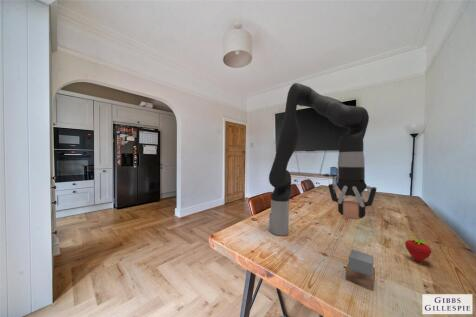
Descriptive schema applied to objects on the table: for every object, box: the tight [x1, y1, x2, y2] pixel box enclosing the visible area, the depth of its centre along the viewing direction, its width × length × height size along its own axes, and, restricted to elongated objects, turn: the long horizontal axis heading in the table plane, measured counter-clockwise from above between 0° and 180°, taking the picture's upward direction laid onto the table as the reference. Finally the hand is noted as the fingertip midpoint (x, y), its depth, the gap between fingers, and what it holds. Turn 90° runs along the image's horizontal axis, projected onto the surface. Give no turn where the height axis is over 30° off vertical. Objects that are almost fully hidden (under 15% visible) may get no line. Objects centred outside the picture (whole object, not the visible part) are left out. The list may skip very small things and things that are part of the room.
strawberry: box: [404, 237, 432, 263], centre depth 68 cm, size 6×8×10 cm
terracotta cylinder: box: [342, 199, 361, 221], centre depth 60 cm, size 5×5×5 cm
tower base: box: [345, 262, 376, 292], centre depth 58 cm, size 7×7×4 cm
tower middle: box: [348, 249, 374, 277], centre depth 58 cm, size 6×6×4 cm
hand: (351, 215), depth 60 cm, fingers closed on terracotta cylinder, 5 cm apart
